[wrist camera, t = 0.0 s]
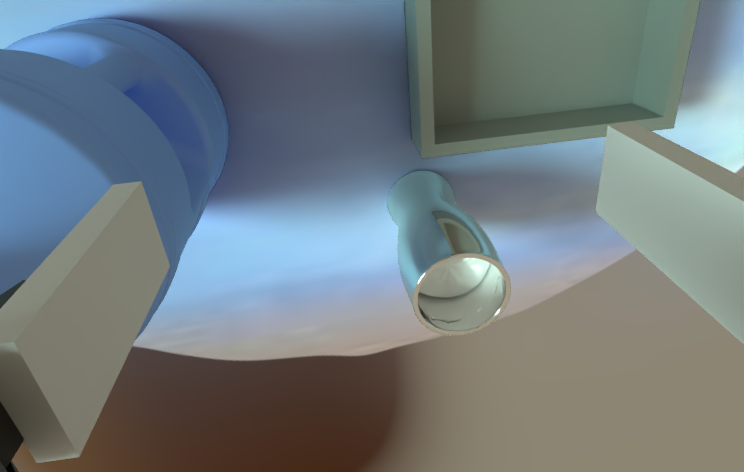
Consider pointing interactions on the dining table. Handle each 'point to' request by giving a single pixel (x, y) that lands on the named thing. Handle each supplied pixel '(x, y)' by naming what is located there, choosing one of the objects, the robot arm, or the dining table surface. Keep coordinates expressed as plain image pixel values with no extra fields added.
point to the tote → (541, 69)
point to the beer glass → (445, 257)
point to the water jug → (102, 137)
